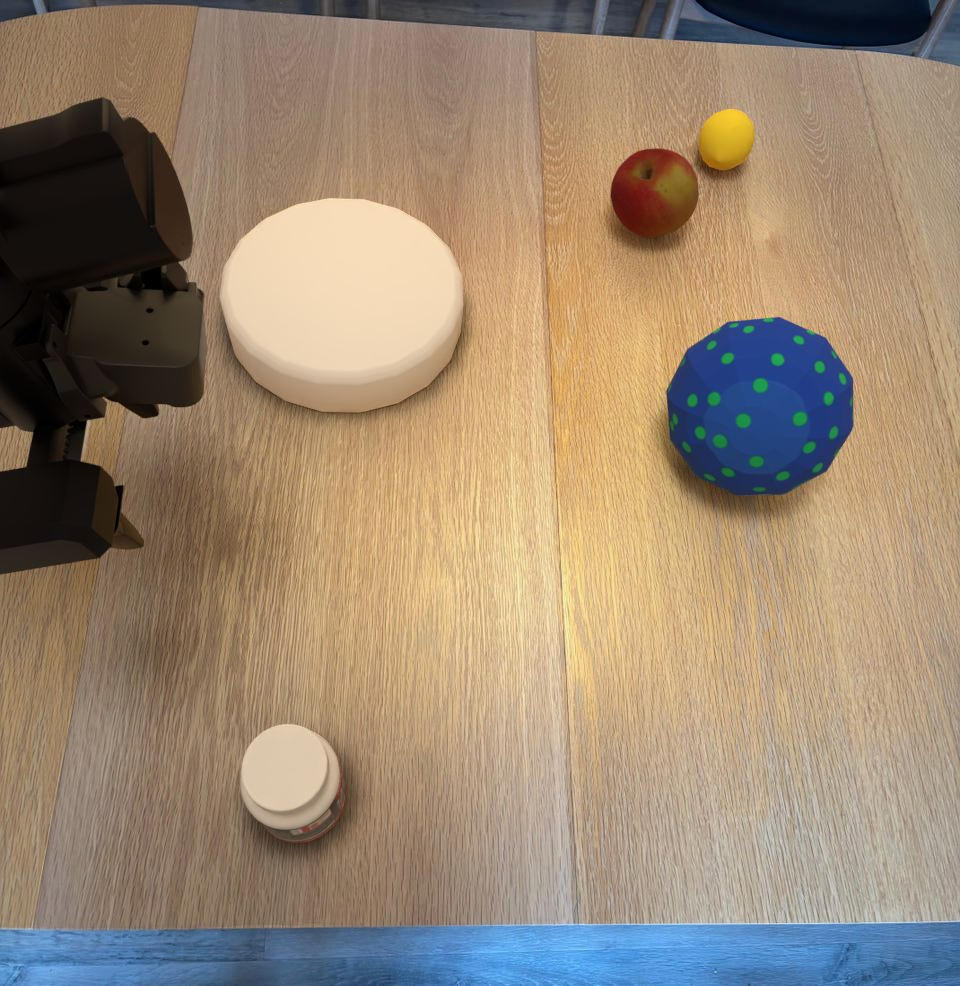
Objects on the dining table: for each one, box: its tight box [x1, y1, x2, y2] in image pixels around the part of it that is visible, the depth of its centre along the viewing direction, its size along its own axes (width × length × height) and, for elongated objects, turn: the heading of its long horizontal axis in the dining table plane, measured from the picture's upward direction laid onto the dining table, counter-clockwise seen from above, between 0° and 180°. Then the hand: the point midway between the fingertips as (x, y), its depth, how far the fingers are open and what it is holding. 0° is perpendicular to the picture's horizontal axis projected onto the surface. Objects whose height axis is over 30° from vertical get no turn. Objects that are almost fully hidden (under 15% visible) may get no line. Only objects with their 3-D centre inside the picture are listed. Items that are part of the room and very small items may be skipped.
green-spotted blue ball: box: [665, 316, 855, 497], centre depth 67 cm, size 14×14×15 cm
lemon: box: [698, 108, 756, 171], centre depth 85 cm, size 7×5×5 cm
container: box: [218, 197, 464, 413], centre depth 72 cm, size 20×20×5 cm
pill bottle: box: [239, 723, 347, 844], centre depth 51 cm, size 6×6×10 cm
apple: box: [609, 147, 700, 238], centre depth 79 cm, size 8×8×8 cm
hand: (144, 477), depth 51 cm, fingers open, 9 cm apart
